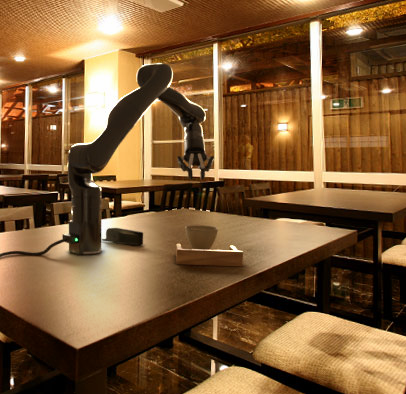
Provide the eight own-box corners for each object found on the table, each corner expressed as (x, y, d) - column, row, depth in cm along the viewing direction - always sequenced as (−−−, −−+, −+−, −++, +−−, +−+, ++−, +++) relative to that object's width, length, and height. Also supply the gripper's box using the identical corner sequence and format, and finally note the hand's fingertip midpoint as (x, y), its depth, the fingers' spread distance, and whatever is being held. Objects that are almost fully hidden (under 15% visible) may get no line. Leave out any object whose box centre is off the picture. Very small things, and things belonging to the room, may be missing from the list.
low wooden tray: (242, 266, 105) (243, 251, 105) (176, 264, 108) (176, 249, 107) (234, 257, 115) (235, 243, 115) (174, 255, 118) (174, 242, 117)
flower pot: (218, 254, 120) (219, 230, 119) (185, 252, 122) (185, 229, 121) (215, 247, 129) (216, 225, 129) (184, 245, 131) (184, 224, 131)
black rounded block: (144, 230, 132) (105, 225, 140) (140, 232, 129) (101, 227, 137) (143, 245, 132) (105, 239, 140) (140, 247, 130) (100, 241, 138)
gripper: (175, 137, 149) (177, 170, 138) (214, 137, 147) (218, 171, 136) (174, 152, 155) (176, 185, 144) (211, 152, 153) (215, 185, 142)
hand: (196, 178), depth 140 cm, fingers open, 3 cm apart
